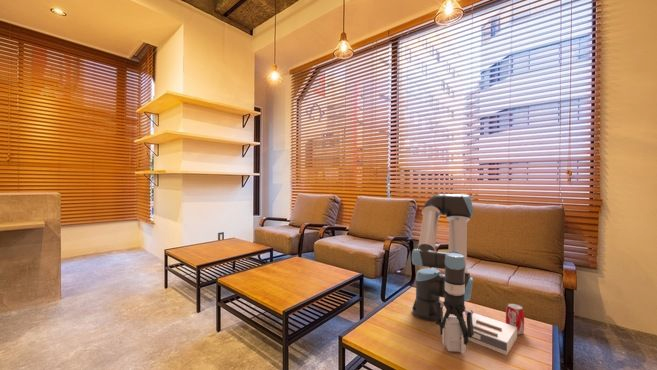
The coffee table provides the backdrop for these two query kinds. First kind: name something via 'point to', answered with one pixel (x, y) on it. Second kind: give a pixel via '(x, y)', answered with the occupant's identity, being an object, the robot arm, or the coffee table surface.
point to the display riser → (493, 333)
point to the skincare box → (453, 334)
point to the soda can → (515, 317)
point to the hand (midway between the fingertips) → (453, 346)
